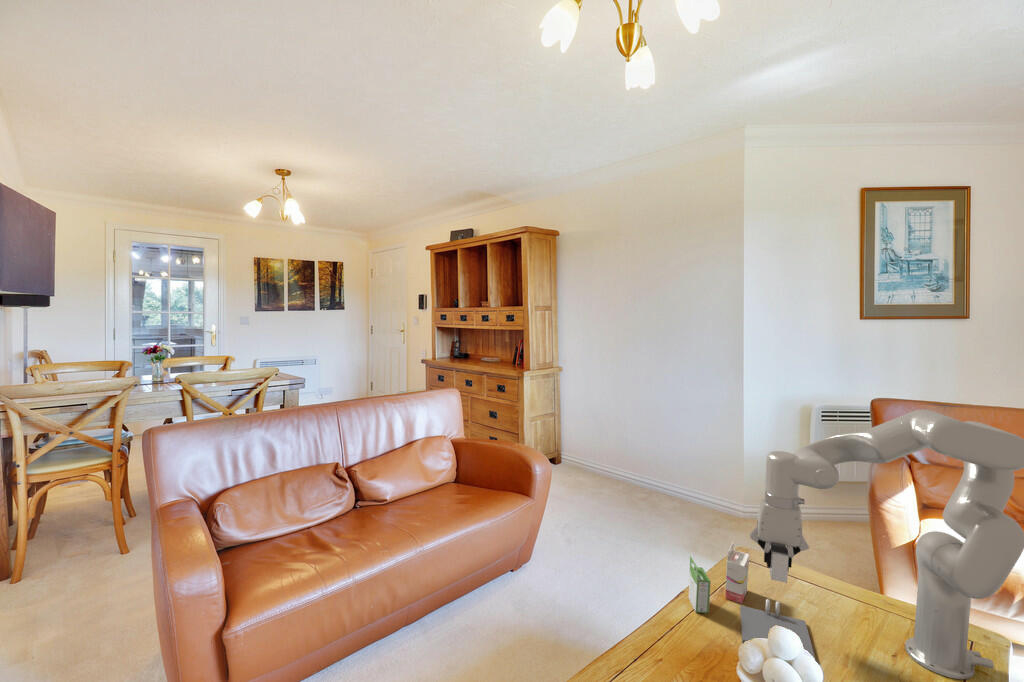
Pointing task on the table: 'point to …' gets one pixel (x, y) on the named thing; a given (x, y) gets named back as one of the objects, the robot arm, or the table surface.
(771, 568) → the block
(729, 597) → the ink cartridge box
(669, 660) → the table surface
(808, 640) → the pin tray
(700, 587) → the ink box
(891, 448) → the robot arm
